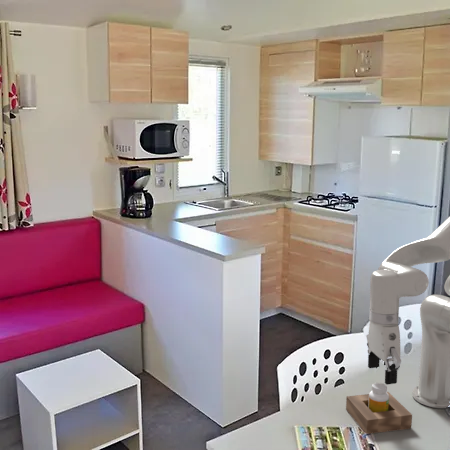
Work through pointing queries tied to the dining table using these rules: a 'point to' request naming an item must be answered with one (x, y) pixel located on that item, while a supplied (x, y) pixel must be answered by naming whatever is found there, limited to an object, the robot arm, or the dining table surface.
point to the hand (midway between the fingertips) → (381, 375)
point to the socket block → (378, 415)
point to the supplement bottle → (378, 398)
